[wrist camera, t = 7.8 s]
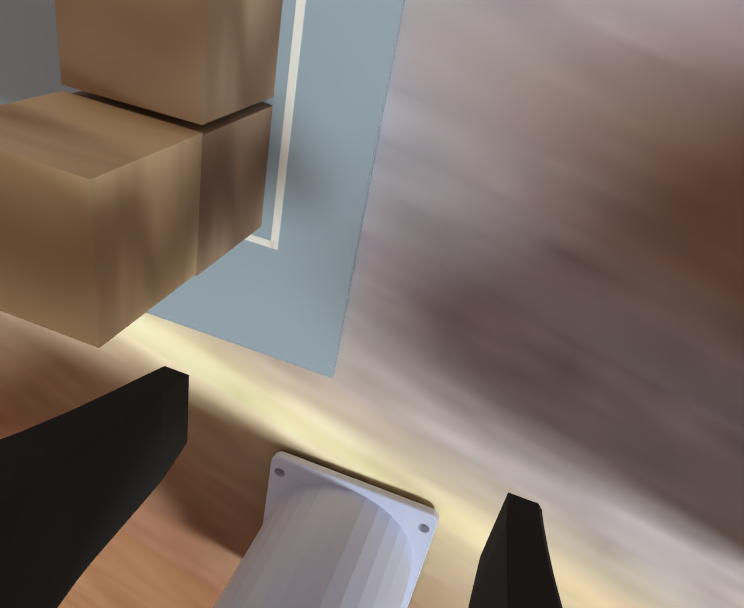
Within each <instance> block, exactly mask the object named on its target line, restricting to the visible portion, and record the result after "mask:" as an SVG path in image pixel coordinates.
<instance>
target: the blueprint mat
mask: <svg viewBox="0 0 744 608" xmlns="http://www.w3.org/2000/svg"><path fill="white" fill-rule="evenodd" d="M403 4H404V0H283V3H282V14H281V24H280V35H279V45H278V56H277V66H276V77H275V87H274V97H272V98H269V99H267V100H264V101H262V102H261V103H264V104H268V105H272V106H273V108H272V119H271V129H270V140H269V150H268V161H267V171H266V182H265V192H264V203H263V213H262V224H261V227H260V228H259V229H257V230H256V231H255V232H253V233H252V234H251V235H249V236H248V237H247V238H246V239H244V240H243V241H242V242H240V243H239V244H238V245H236V246H235V247H234V248H233V249H231V250H230V251H229V252H227V253H226V254H225V255H223V256H222V257H221V258H220V259H218V260H217V261H216V262H214V263H213V264H212V265H210V266H209V267H208V268H207V269H205V270H204V271H203V272H201V273H200V274H199V275H198V276H193V277H191V278H190V279H189V280H188V281H186V282H185V283H184V284H182V285H181V286H180V287H178V288H177V289H176V290H174V291H173V292H172V293H170V294H169V295H168V296H167V297H165V298H164V299H163V300H161V301H160V302H159V303H157V304H156V305H155V306H153V307H152V308H151V309H150V310H148V311H147V312H146V313H149V314H152V315H155V316H158V317H160V318H163V319H166V320H169V321H172V322H175V323H177V324H180V325H183V326H186V327H189V328H192V329H194V330H197V331H200V332H203V333H206V334H209V335H211V336H214V337H217V338H220V339H223V340H226V341H228V342H231V343H234V344H237V345H240V346H243V347H245V348H248V349H251V350H254V351H257V352H260V353H263V354H265V355H268V356H271V357H274V358H277V359H280V360H282V361H285V362H288V363H291V364H294V365H297V366H299V367H302V368H305V369H308V370H311V371H314V372H316V373H319V374H322V375H325V376H328V377H331V378H332V376H333V374H334V369H335V364H336V358H337V353H338V348H339V343H340V337H341V332H342V327H343V321H344V316H345V311H346V305H347V300H348V295H349V290H350V284H351V279H352V274H353V268H354V263H355V258H356V253H357V247H358V242H359V237H360V231H361V226H362V221H363V215H364V210H365V205H366V200H367V194H368V189H369V184H370V178H371V173H372V168H373V163H374V157H375V152H376V147H377V141H378V136H379V131H380V125H381V120H382V115H383V110H384V104H385V99H386V94H387V88H388V83H389V78H390V73H391V67H392V62H393V57H394V51H395V46H396V41H397V35H398V30H399V25H400V20H401V14H402V9H403ZM60 91H65V92H68V93H74V92H78V91H82V90H79V89H75V88H72V87H68V86H65V85H61V73H60V61H59V49H58V36H57V24H56V11H55V0H0V105H2V104H7V103H11V102H16V101H20V100H24V99H29V98H33V97H38V96H42V95H47V94H51V93H56V92H60Z"/></svg>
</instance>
